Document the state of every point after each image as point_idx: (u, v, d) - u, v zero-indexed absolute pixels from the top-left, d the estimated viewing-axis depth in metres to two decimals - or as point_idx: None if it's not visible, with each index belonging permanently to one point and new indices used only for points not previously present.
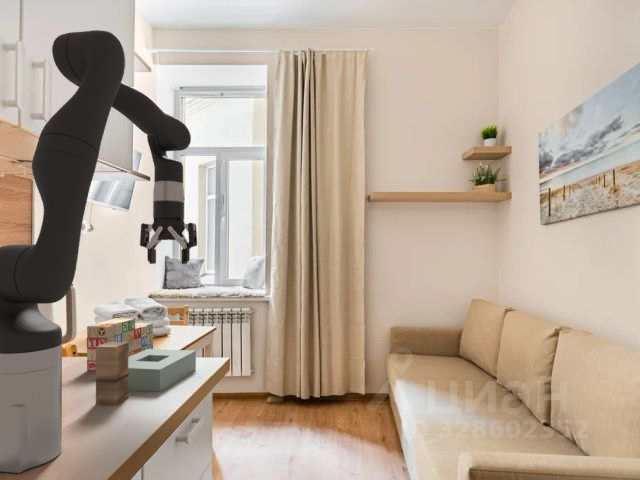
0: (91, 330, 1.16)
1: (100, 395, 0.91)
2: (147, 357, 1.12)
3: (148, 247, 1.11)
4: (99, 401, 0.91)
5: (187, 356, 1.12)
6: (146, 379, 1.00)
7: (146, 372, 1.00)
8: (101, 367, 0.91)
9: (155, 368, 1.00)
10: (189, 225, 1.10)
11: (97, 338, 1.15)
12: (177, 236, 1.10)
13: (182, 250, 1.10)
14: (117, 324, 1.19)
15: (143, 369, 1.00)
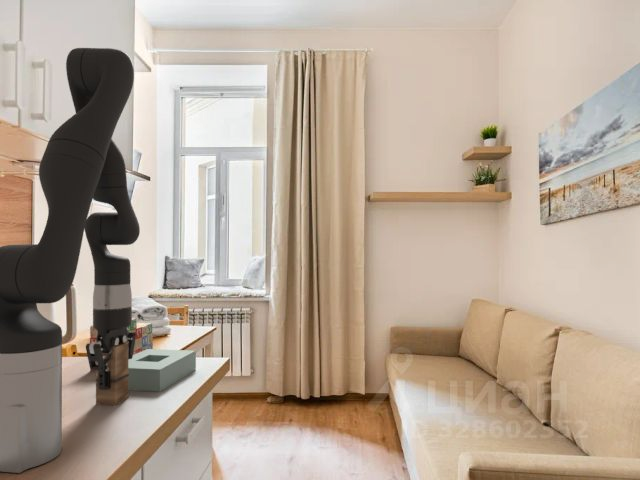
0: (94, 330, 1.16)
1: (100, 395, 0.91)
2: (147, 357, 1.12)
3: (108, 369, 0.90)
4: (99, 401, 0.91)
5: (187, 356, 1.12)
6: (146, 379, 1.00)
7: (146, 372, 1.00)
8: None
9: (155, 368, 1.00)
10: (134, 335, 0.99)
11: None
12: None
13: None
14: None
15: (143, 369, 1.00)
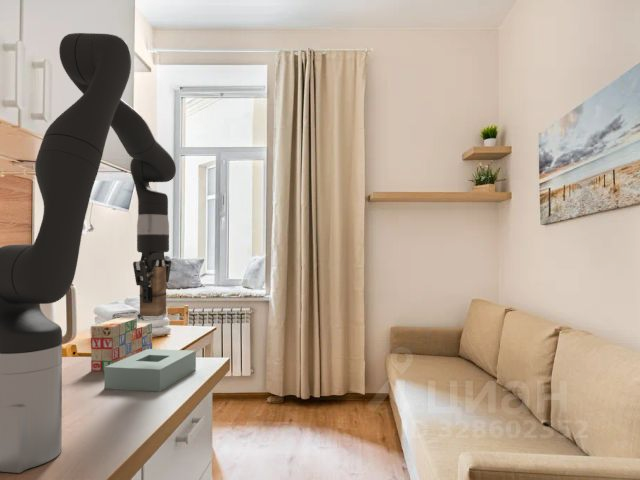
0: (95, 330, 1.16)
1: (143, 308, 1.07)
2: (147, 357, 1.12)
3: (151, 285, 1.06)
4: (142, 313, 1.07)
5: (187, 356, 1.12)
6: (146, 379, 1.00)
7: (146, 372, 1.00)
8: None
9: (155, 368, 1.00)
10: (169, 262, 1.15)
11: (102, 338, 1.15)
12: None
13: None
14: (121, 324, 1.19)
15: (143, 369, 1.00)
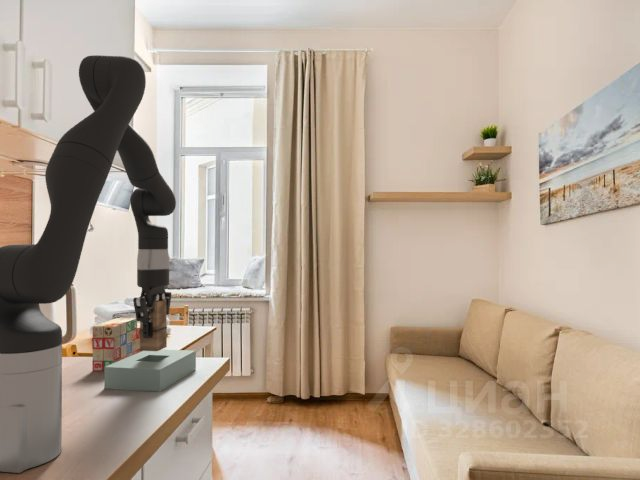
0: (97, 330, 1.16)
1: (144, 343, 1.07)
2: (147, 357, 1.12)
3: (151, 321, 1.06)
4: (142, 348, 1.07)
5: (187, 356, 1.12)
6: (146, 379, 1.00)
7: (146, 372, 1.00)
8: None
9: (155, 368, 1.00)
10: (170, 294, 1.15)
11: (104, 337, 1.15)
12: None
13: None
14: (122, 324, 1.19)
15: (143, 369, 1.00)
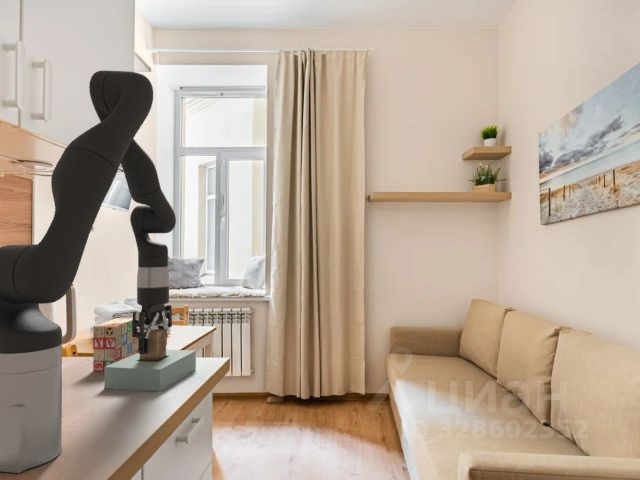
0: (98, 330, 1.16)
1: None
2: None
3: (147, 337, 1.04)
4: None
5: (187, 356, 1.12)
6: (146, 379, 1.00)
7: (146, 372, 1.00)
8: None
9: (155, 368, 1.00)
10: (170, 307, 1.15)
11: (105, 337, 1.15)
12: (165, 320, 1.12)
13: None
14: (123, 324, 1.19)
15: (143, 369, 1.00)
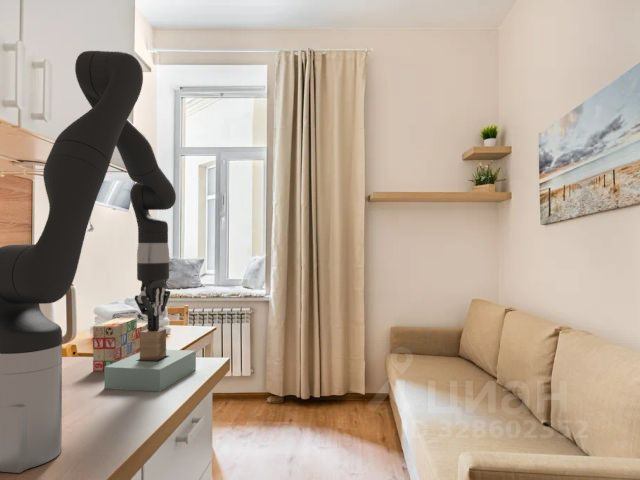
0: (98, 330, 1.16)
1: None
2: None
3: (156, 314, 1.08)
4: None
5: (187, 356, 1.12)
6: (146, 379, 1.00)
7: (146, 372, 1.00)
8: (145, 349, 1.07)
9: (155, 368, 1.00)
10: (169, 293, 1.14)
11: (105, 338, 1.15)
12: (162, 300, 1.10)
13: (158, 316, 1.09)
14: (123, 324, 1.19)
15: (143, 369, 1.00)
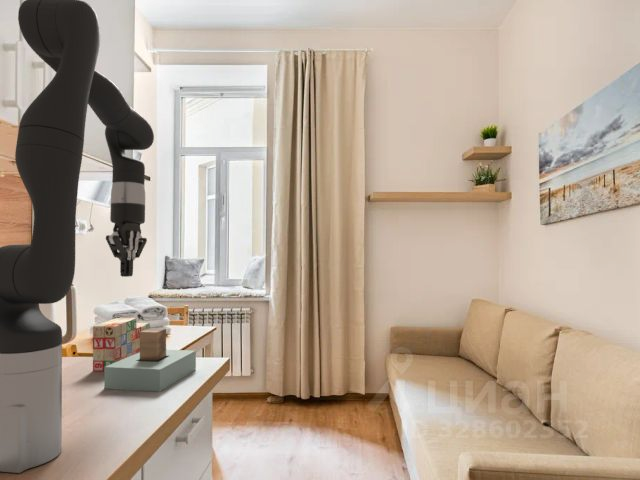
0: (97, 330, 1.16)
1: None
2: None
3: (129, 258, 1.02)
4: None
5: (187, 356, 1.12)
6: (146, 379, 1.00)
7: (146, 372, 1.00)
8: (144, 349, 1.07)
9: (155, 368, 1.00)
10: (145, 240, 1.08)
11: (104, 337, 1.15)
12: (137, 245, 1.04)
13: (131, 261, 1.03)
14: (123, 324, 1.20)
15: (143, 369, 1.00)
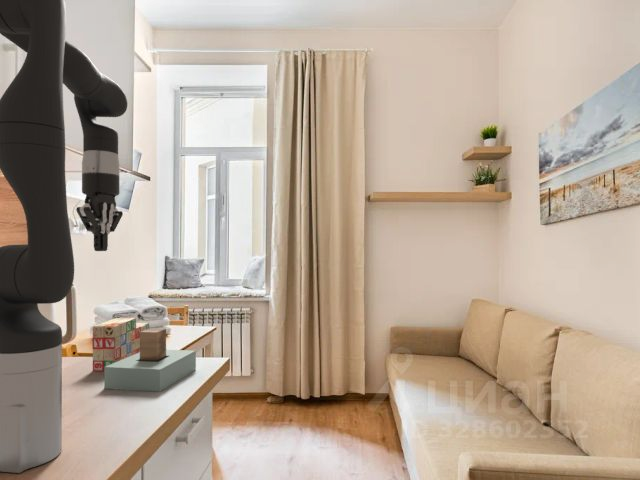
0: (97, 330, 1.16)
1: None
2: None
3: (103, 232, 0.96)
4: None
5: (187, 356, 1.12)
6: (146, 379, 1.00)
7: (146, 372, 1.00)
8: (145, 349, 1.07)
9: (155, 368, 1.00)
10: (120, 213, 1.03)
11: (104, 337, 1.15)
12: (111, 218, 0.99)
13: (106, 235, 0.98)
14: (122, 324, 1.20)
15: (143, 369, 1.00)
